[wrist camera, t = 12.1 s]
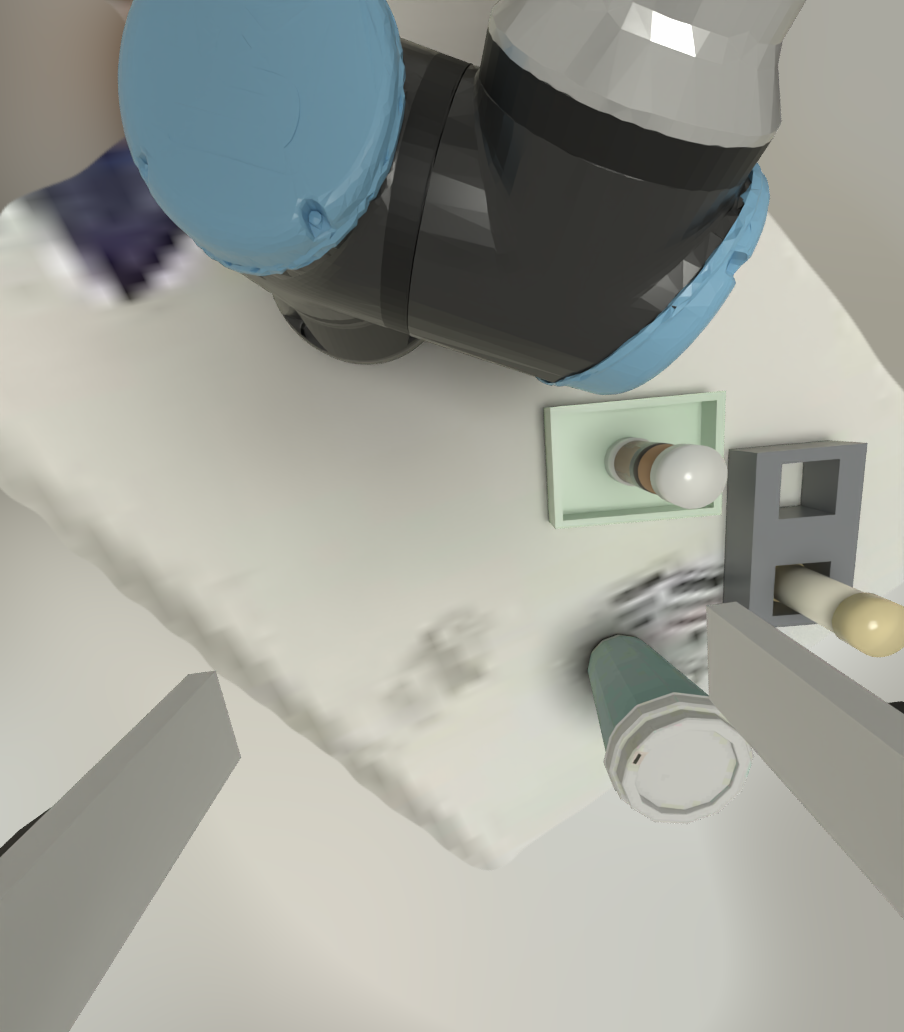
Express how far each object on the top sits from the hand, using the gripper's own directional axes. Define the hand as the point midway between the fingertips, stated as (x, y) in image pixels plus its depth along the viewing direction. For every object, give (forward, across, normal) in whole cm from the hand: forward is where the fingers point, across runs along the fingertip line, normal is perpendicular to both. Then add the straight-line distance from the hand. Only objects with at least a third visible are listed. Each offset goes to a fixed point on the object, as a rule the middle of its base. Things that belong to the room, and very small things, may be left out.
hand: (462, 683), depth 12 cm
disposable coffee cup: (+32, +14, -20) cm, 40 cm away
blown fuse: (+31, +16, +1) cm, 35 cm away
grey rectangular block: (+31, +29, -8) cm, 44 cm away
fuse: (+31, +29, -13) cm, 45 cm away
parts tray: (+31, +16, +1) cm, 35 cm away
